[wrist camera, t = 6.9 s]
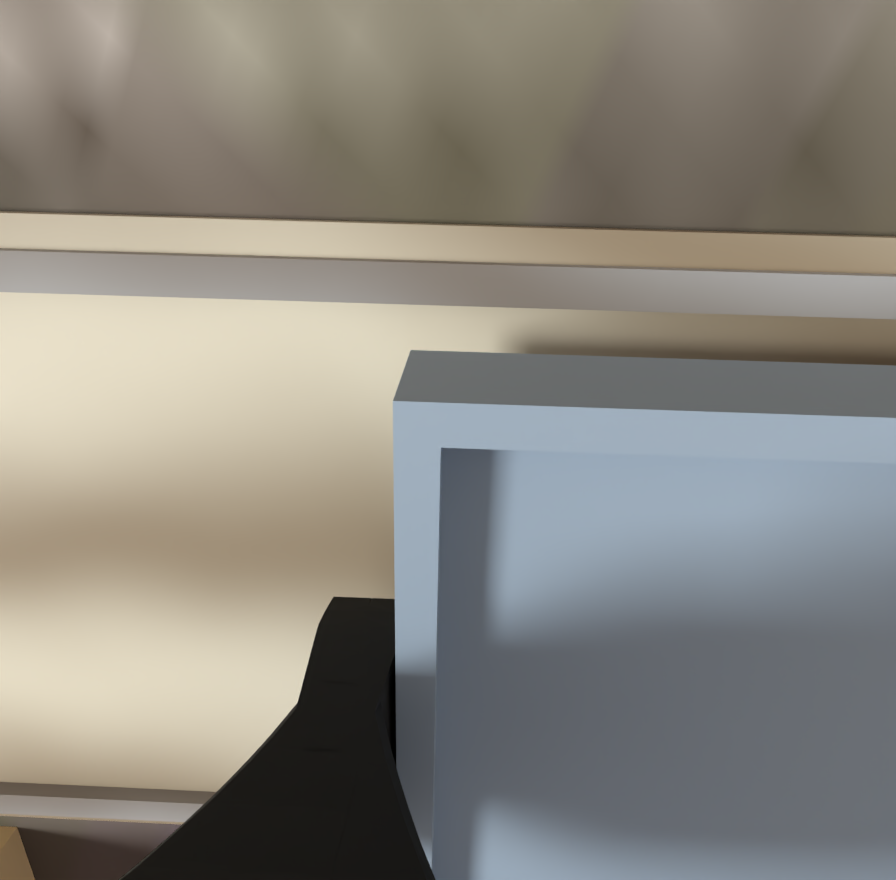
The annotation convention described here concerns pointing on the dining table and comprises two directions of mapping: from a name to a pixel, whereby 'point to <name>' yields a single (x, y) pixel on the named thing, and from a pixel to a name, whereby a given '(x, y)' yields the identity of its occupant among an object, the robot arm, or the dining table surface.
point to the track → (288, 445)
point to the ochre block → (13, 856)
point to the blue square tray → (646, 616)
